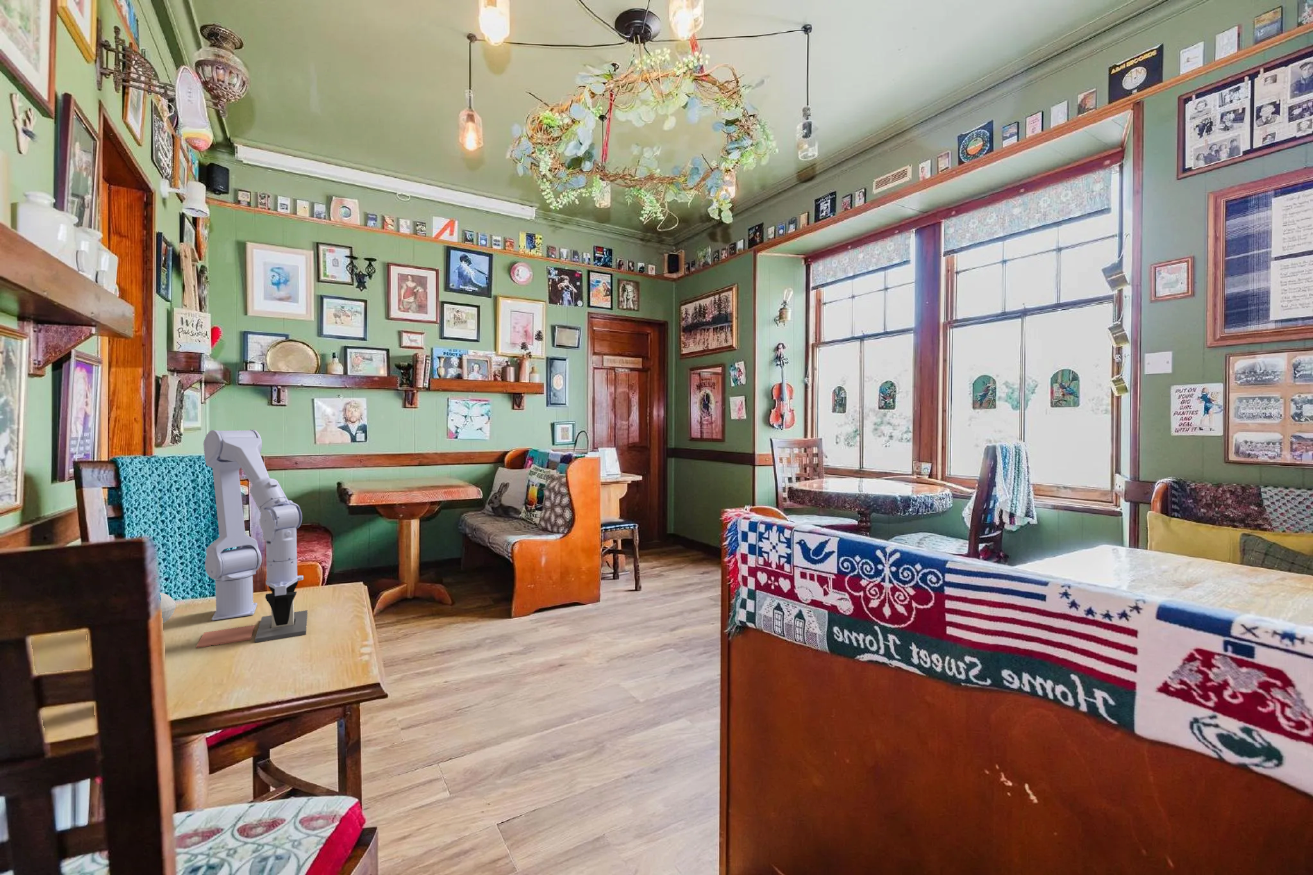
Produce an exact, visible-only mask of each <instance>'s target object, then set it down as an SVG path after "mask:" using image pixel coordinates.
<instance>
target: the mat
mask: <svg viewBox="0 0 1313 875" xmlns="http://www.w3.org/2000/svg"><path fill="white" fill-rule="evenodd" d="M255 628H256V625H255V624H253V625H252V624H251V625H246V626H238V627H233V628H232V627H231V628H226V629H219V630H218V629H217V630H212V631H206V632H203V634H202V636H201V638H200V639H199V641H198V643H197V644H196V647H195V648H196V649H199V647H201V648H206V647H212V646H211V645H214V646H219V644H220V645H225V644H231V643H238V642H244V641H251V639H252V637H253V633H254V631H255Z"/></svg>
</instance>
